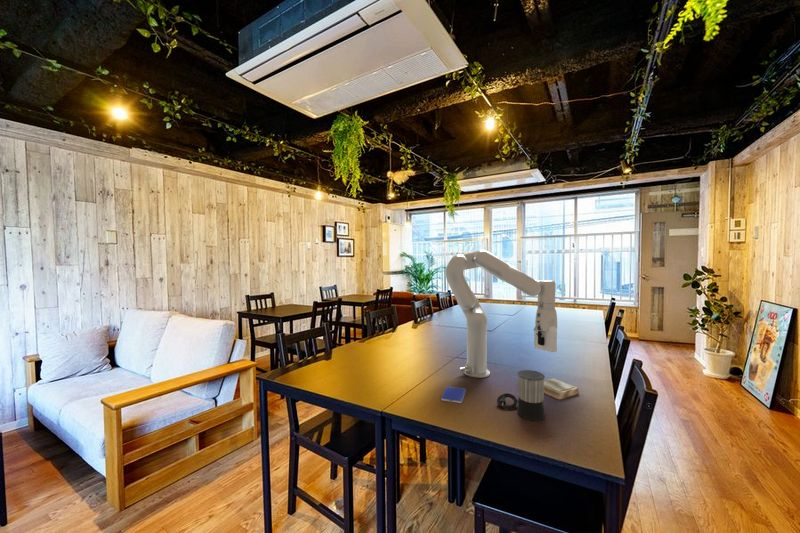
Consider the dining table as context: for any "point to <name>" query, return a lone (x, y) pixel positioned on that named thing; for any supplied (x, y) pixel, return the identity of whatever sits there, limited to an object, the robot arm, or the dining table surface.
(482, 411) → the dining table surface
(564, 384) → the pedestal
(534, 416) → the milk frother
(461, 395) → the hard drive
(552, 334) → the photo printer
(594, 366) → the dining table surface
